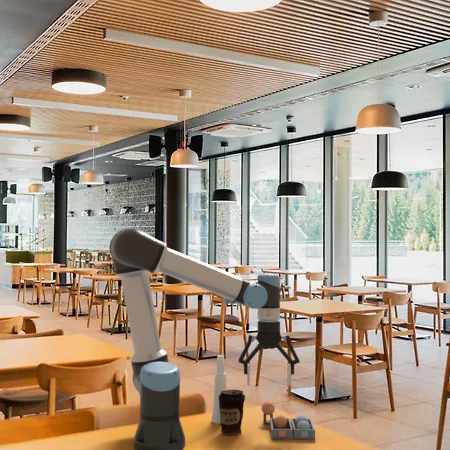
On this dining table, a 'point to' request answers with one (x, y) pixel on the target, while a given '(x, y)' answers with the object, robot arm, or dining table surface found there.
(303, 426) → the slate ball
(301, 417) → the slate ball
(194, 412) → the dining table surface
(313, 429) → the grey sorting trays
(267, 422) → the ball stand
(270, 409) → the orange ball
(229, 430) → the coffee cup
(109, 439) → the dining table surface
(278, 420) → the rust ball
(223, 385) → the cosmetic bottle
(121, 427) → the dining table surface
